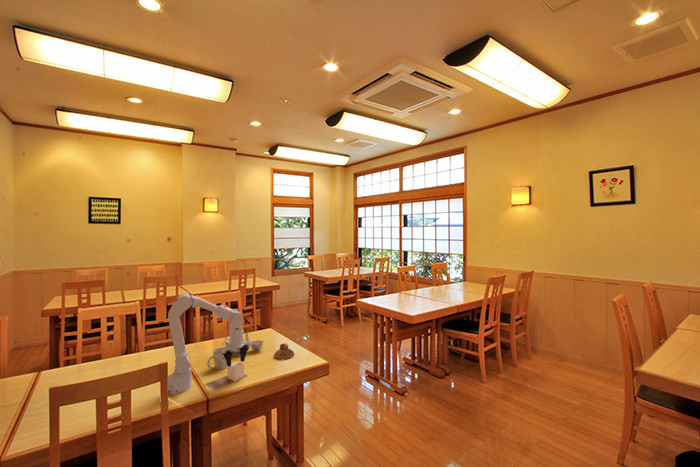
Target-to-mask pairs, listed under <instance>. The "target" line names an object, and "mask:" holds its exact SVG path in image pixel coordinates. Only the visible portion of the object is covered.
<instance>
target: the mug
mask: <svg viewBox="0 0 700 467" xmlns="http://www.w3.org/2000/svg"><path fill="white" fill-rule="evenodd" d="M222 348H225V347H218V348H215V349H214V350H213V351H212V353H213V355H211V356H210V357H209V358H208V360H207V362H206V365H207V368H208V369H210V370H213V369H217V370H222V369H227V368H228V366H227V363H226V359H225V357H224V355H223V354H222ZM212 359H213V360H214V361H213V362H214V366H211V365H210V362H211V360H212Z"/></svg>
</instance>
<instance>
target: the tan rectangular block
mask: <svg viewBox="0 0 700 467" xmlns="http://www.w3.org/2000/svg"><path fill="white" fill-rule="evenodd" d="M244 374H245V364H244V363H242V362H241V361H236V362H233V363H232V362H231V366H230V367H229V366H228V367H227V375H228V379H230V380H233V381H235V382H237V381H239V379H240V380H242V379H244V378H245V377H244ZM243 377H244V378H243ZM241 378H242V379H241ZM236 380H237V381H236Z"/></svg>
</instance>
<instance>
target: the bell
mask: <svg viewBox="0 0 700 467" xmlns="http://www.w3.org/2000/svg"><path fill="white" fill-rule="evenodd" d="M294 356H295V352H294V351H293V350H292V349H291V348H289V344H288V343H281V344H279V349H278V350H276V351H275V352H274V354H273V359H274V358H275V360H281V359H284V360H289V359H291V357H292V358H293V357H294ZM288 358H289V359H288Z"/></svg>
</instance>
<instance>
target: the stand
mask: <svg viewBox="0 0 700 467" xmlns="http://www.w3.org/2000/svg"><path fill="white" fill-rule="evenodd" d="M247 377H248V375H247V374H245V373H244V377H243V378H241V379H239V380H243V379H244V378H247ZM239 380H236V381H233V380H230V379H228V374H227V375H225V376H222V377H219V378H217V379H214V380H212V381H209V382H207V383H205V384H204V385H205V386H206V387H209V388H211V389H213V390H218V389H220V388H222V387H225V386H228V385H230V384H231V383H234V382H237V381H239Z"/></svg>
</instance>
